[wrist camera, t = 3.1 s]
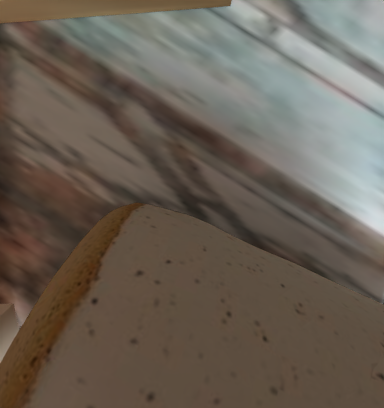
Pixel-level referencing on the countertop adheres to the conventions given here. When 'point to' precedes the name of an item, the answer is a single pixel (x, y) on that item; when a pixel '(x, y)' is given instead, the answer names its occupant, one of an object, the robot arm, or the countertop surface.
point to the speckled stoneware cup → (191, 326)
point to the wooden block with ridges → (92, 8)
